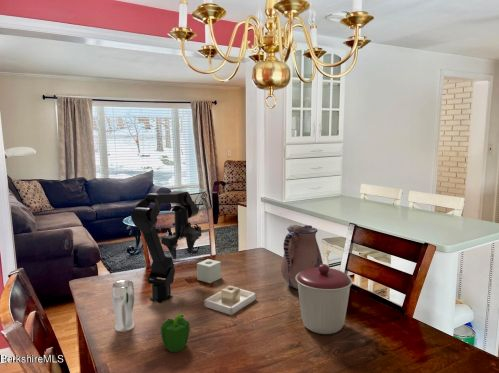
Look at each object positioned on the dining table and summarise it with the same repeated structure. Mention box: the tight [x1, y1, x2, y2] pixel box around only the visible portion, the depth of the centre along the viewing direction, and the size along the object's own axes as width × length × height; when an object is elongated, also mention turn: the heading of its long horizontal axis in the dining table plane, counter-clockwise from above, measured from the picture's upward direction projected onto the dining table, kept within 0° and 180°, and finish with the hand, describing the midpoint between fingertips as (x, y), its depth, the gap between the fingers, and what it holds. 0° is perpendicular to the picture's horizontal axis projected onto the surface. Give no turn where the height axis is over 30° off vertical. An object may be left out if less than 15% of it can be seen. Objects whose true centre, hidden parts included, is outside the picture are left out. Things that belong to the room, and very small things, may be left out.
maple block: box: [220, 285, 241, 306], centre depth 138 cm, size 5×5×5 cm
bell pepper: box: [160, 313, 191, 353], centre depth 108 cm, size 8×8×10 cm
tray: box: [204, 288, 257, 316], centre depth 138 cm, size 16×13×2 cm
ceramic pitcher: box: [280, 224, 324, 290], centre depth 151 cm, size 18×21×25 cm
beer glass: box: [111, 279, 135, 333], centre depth 120 cm, size 7×7×15 cm
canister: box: [295, 263, 353, 335], centre depth 119 cm, size 18×18×21 cm
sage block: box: [196, 258, 222, 284], centre depth 162 cm, size 8×8×8 cm
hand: (182, 256), depth 156 cm, fingers open, 9 cm apart
